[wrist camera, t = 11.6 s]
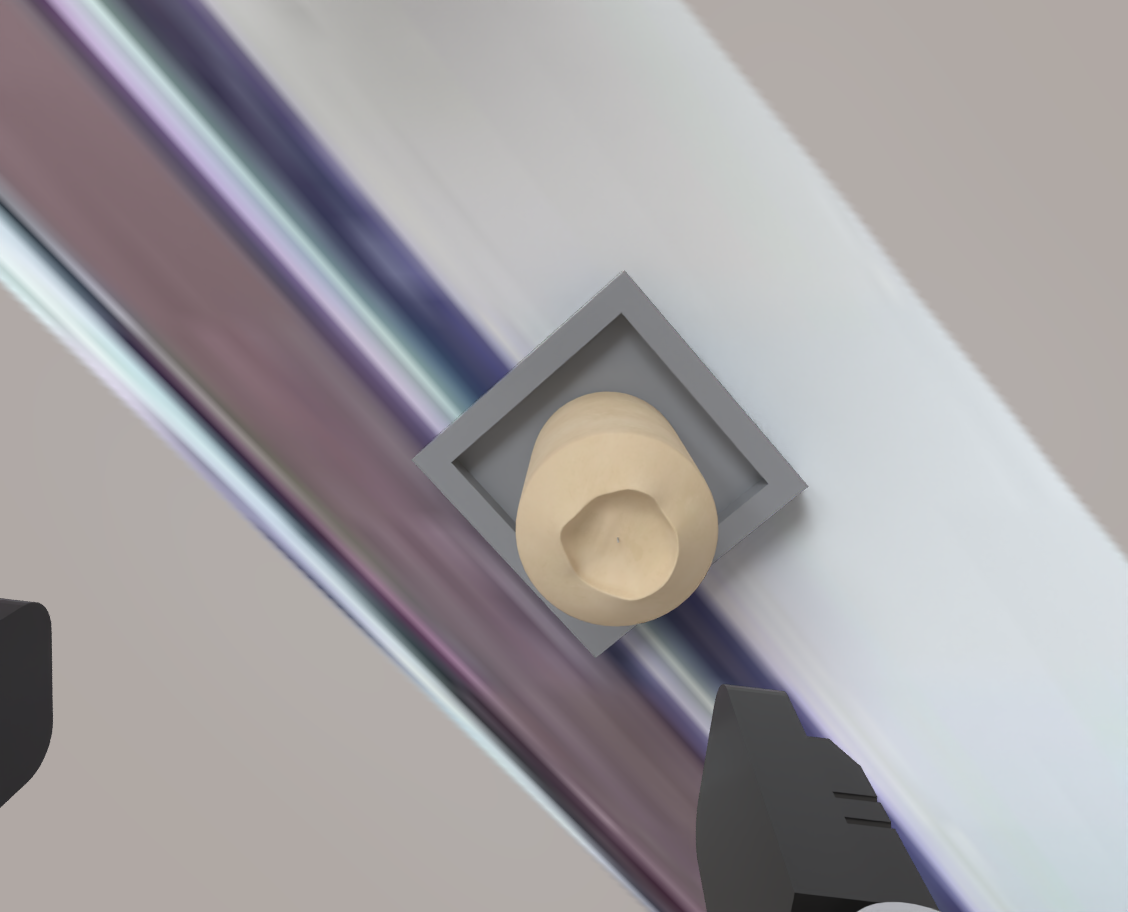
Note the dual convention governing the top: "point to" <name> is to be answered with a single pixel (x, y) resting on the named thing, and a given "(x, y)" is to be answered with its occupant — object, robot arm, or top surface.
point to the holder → (607, 364)
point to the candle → (614, 513)
